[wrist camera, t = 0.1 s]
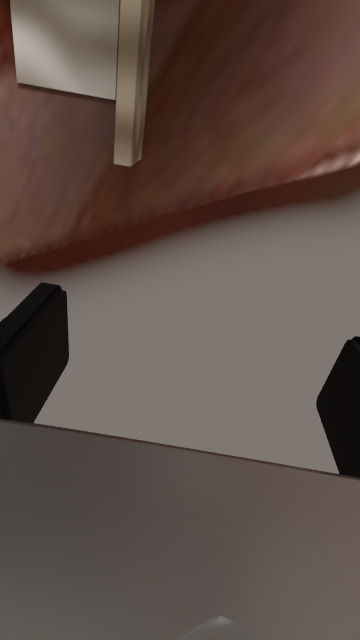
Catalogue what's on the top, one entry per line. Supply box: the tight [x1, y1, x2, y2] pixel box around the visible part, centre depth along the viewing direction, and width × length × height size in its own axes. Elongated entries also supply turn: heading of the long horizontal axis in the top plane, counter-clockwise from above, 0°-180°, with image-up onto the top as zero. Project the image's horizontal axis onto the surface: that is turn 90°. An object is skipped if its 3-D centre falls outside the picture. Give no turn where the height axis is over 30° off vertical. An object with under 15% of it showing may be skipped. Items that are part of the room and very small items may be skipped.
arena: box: [10, 0, 155, 167], centre depth 30 cm, size 18×18×6 cm
